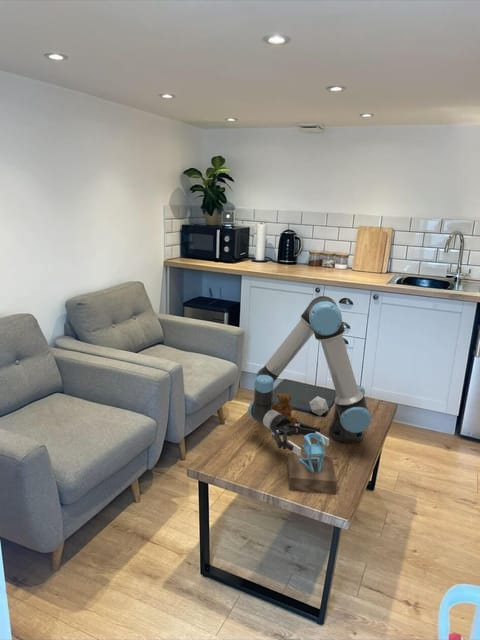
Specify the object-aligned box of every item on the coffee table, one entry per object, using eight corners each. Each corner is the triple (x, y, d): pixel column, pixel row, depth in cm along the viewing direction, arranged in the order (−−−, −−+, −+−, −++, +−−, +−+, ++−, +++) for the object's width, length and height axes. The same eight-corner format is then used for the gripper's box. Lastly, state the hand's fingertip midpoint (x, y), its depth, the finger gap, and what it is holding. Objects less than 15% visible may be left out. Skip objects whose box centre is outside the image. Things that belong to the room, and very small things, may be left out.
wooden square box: (330, 468, 177) (331, 456, 176) (335, 493, 162) (337, 481, 161) (287, 465, 178) (288, 453, 177) (289, 490, 163) (290, 477, 162)
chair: (305, 473, 164) (308, 442, 161) (298, 460, 172) (301, 431, 169) (326, 472, 166) (329, 441, 163) (318, 459, 174) (321, 430, 171)
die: (311, 409, 230) (304, 397, 224) (327, 402, 228) (321, 390, 223) (316, 421, 223) (309, 410, 217) (332, 414, 222) (326, 402, 216)
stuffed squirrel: (298, 421, 214) (301, 395, 211) (278, 430, 205) (280, 403, 202) (282, 413, 221) (284, 388, 218) (261, 422, 212) (263, 395, 209)
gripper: (300, 424, 191) (338, 447, 174) (250, 439, 177) (286, 466, 160) (301, 407, 189) (340, 429, 172) (251, 421, 175) (288, 446, 158)
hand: (314, 447), depth 166 cm, fingers open, 13 cm apart
